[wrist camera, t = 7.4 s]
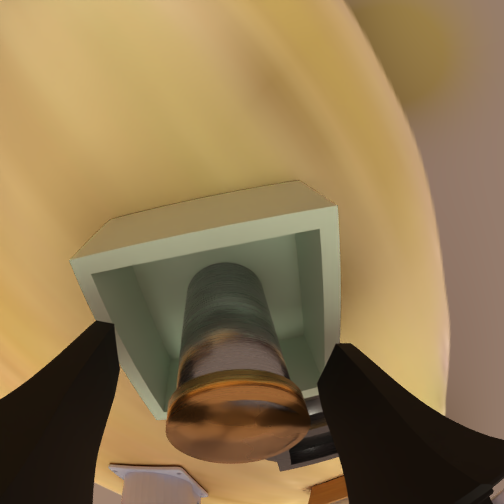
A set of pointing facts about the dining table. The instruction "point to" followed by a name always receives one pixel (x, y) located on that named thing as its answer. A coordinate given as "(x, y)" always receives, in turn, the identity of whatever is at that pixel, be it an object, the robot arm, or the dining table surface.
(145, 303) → the bin
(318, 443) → the mount
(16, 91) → the dining table surface
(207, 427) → the jar with copper lid
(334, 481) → the soap dish
